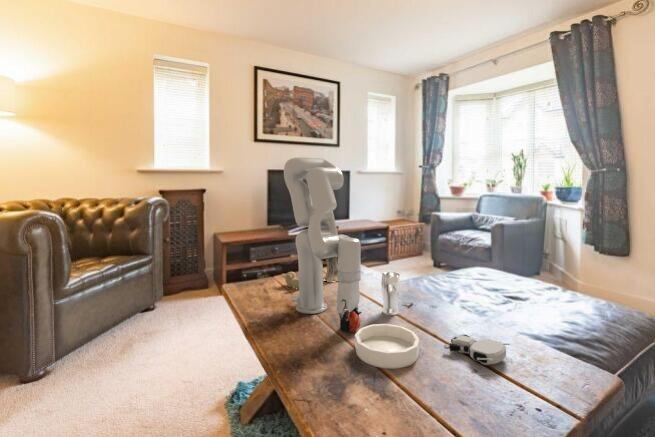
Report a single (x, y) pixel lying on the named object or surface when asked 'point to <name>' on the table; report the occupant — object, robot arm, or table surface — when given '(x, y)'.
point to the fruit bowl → (387, 346)
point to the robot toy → (479, 349)
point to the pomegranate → (354, 320)
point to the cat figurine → (291, 279)
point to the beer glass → (390, 292)
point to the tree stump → (331, 269)
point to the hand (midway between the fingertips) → (349, 326)
